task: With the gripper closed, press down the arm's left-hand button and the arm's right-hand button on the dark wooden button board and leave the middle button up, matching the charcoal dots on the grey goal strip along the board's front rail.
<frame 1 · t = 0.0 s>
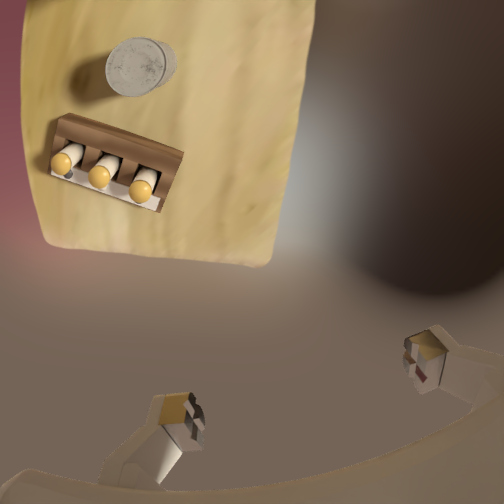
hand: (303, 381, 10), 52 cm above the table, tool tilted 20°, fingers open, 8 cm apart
grey concrete cylinder: (151, 64, 44), on the table
button 2: (144, 183, 51), point 7 cm above the table, slide at 0.0 cm
button board: (115, 156, 53), on the table
goal strip: (102, 184, 51), resting on button board
button 1: (68, 157, 45), point 7 cm above the table, slide at 0.0 cm
middle button: (105, 169, 48), point 7 cm above the table, slide at 0.0 cm
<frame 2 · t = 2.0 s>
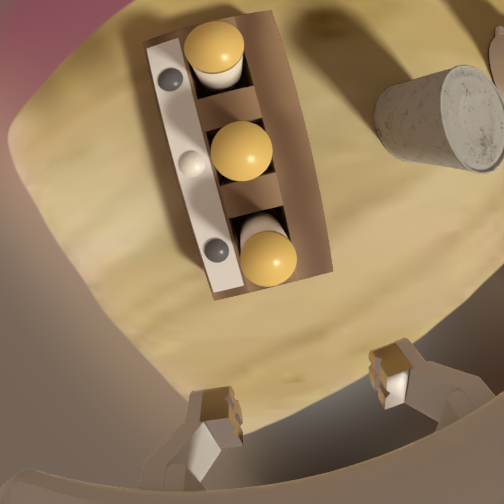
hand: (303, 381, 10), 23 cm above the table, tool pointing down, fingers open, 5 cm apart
grey concrete cylinder: (407, 122, 29), on the table
button 2: (264, 244, 25), point 7 cm above the table, slide at 0.0 cm
button board: (240, 151, 29), on the table
goal strip: (192, 164, 25), resting on button board
button 1: (217, 60, 20), point 7 cm above the table, slide at 0.0 cm
middle button: (241, 151, 23), point 7 cm above the table, slide at 0.0 cm
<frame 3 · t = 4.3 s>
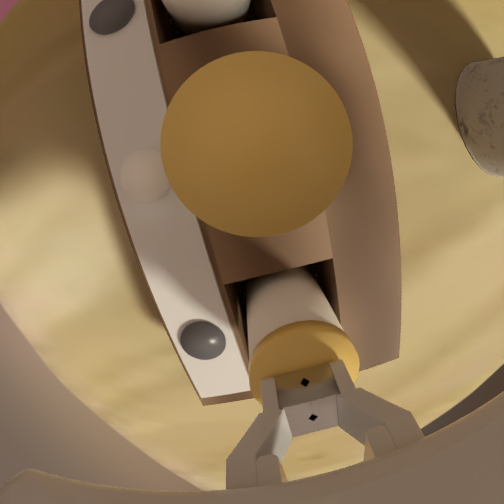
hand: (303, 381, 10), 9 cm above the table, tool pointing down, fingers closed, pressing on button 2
grey concrete cylinder: (492, 118, 15), on the table
button 2: (290, 322, 14), point 5 cm above the table, slide at 1.6 cm, touching gripper
button board: (246, 148, 16), on the table
goal strip: (148, 174, 11), resting on button board
middle button: (251, 145, 9), point 7 cm above the table, slide at 0.0 cm
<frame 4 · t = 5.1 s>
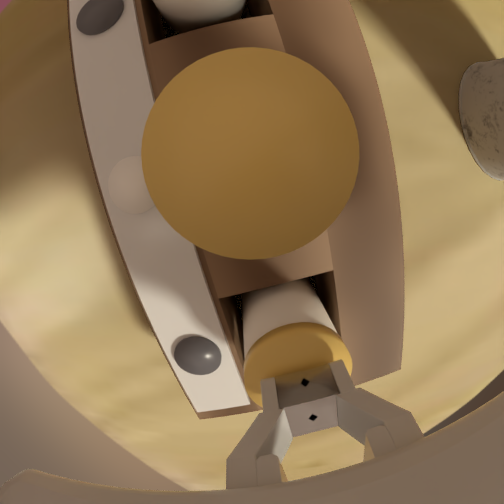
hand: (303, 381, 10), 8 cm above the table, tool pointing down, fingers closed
grey concrete cylinder: (496, 120, 15), on the table
button 2: (285, 323, 14), point 4 cm above the table, slide at 2.6 cm
button board: (241, 153, 15), on the table
goal strip: (138, 183, 11), resting on button board
middle button: (245, 152, 9), point 7 cm above the table, slide at 0.0 cm
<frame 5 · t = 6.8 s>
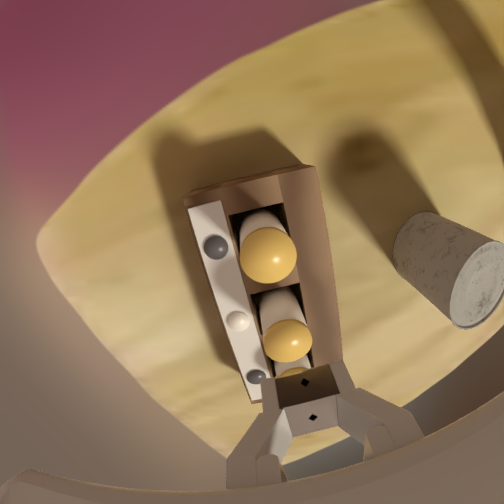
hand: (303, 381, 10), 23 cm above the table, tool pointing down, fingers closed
grey concrete cylinder: (422, 247, 34), on the table
button 2: (291, 363, 33), point 4 cm above the table, slide at 2.6 cm
button board: (273, 288, 34), on the table
goal strip: (238, 319, 30), resting on button board
button 1: (263, 241, 25), point 7 cm above the table, slide at 0.0 cm
middle button: (282, 320, 28), point 7 cm above the table, slide at 0.0 cm
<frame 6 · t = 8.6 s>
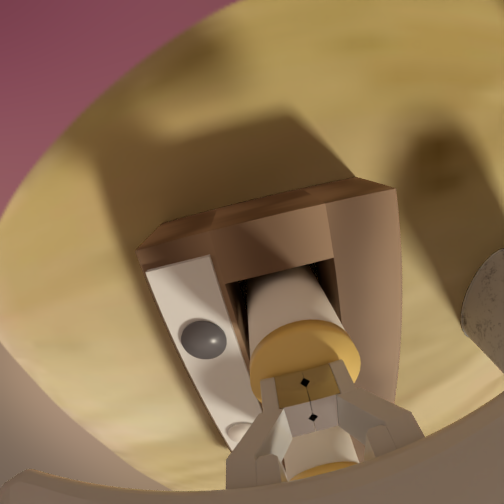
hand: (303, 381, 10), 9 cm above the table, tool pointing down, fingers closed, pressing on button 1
grey concrete cylinder: (493, 294, 21), on the table
button board: (297, 367, 21), on the table
goal strip: (244, 428, 17), resting on button board
button 1: (291, 321, 14), point 5 cm above the table, slide at 1.6 cm, touching gripper
middle button: (315, 438, 15), point 7 cm above the table, slide at 0.0 cm
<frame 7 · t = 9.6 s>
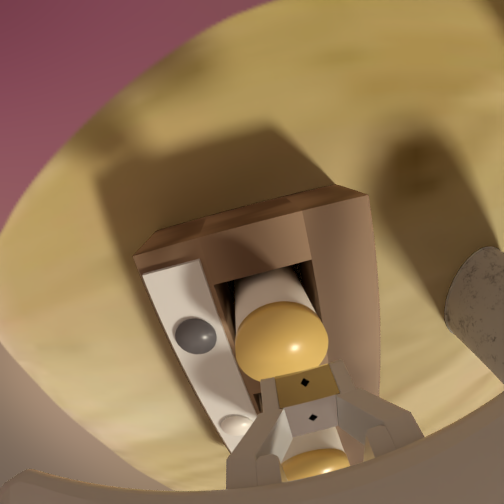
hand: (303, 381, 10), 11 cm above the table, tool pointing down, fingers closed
grey concrete cylinder: (477, 291, 23), on the table
button board: (286, 364, 23), on the table
goal strip: (237, 421, 18), resting on button board
button 1: (271, 308, 16), point 4 cm above the table, slide at 2.6 cm
middle button: (302, 429, 16), point 7 cm above the table, slide at 0.0 cm
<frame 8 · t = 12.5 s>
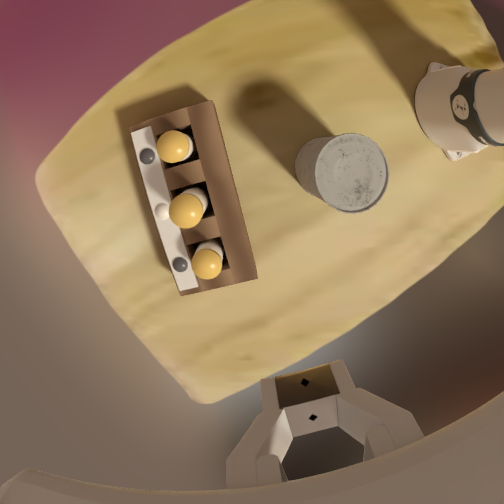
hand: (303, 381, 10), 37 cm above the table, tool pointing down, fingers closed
grey concrete cylinder: (324, 167, 44), on the table
button 2: (209, 255, 43), point 4 cm above the table, slide at 2.6 cm
button board: (197, 197, 44), on the table
goal strip: (163, 211, 40), resting on button board
button 1: (178, 147, 38), point 4 cm above the table, slide at 2.6 cm
middle button: (190, 205, 38), point 7 cm above the table, slide at 0.0 cm
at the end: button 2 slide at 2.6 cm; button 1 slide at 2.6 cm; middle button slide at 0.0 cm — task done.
